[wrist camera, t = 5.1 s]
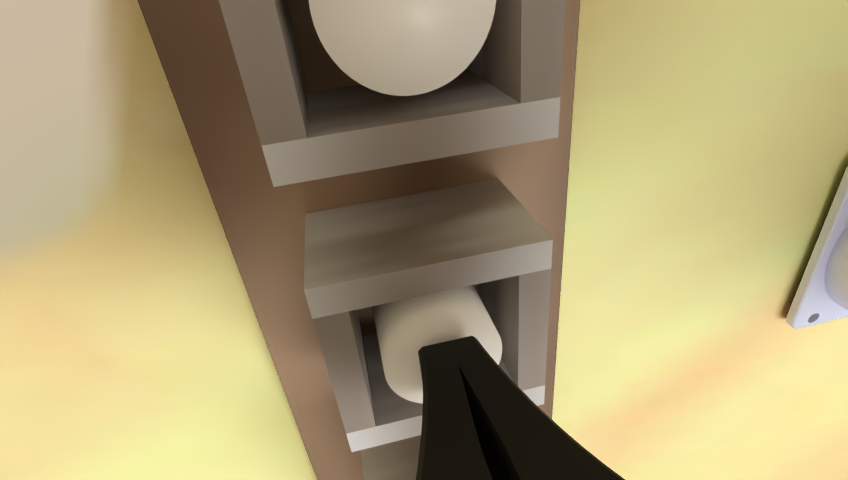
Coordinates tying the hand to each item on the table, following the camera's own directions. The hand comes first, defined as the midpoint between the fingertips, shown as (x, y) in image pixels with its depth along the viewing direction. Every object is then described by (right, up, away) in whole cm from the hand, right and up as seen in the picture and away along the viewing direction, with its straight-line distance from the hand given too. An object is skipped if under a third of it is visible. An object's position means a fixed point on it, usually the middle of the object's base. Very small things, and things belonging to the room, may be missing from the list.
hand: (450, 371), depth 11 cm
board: (-1, +2, +4) cm, 5 cm away
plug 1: (-2, +9, -1) cm, 9 cm away
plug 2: (-1, +2, +3) cm, 4 cm away
